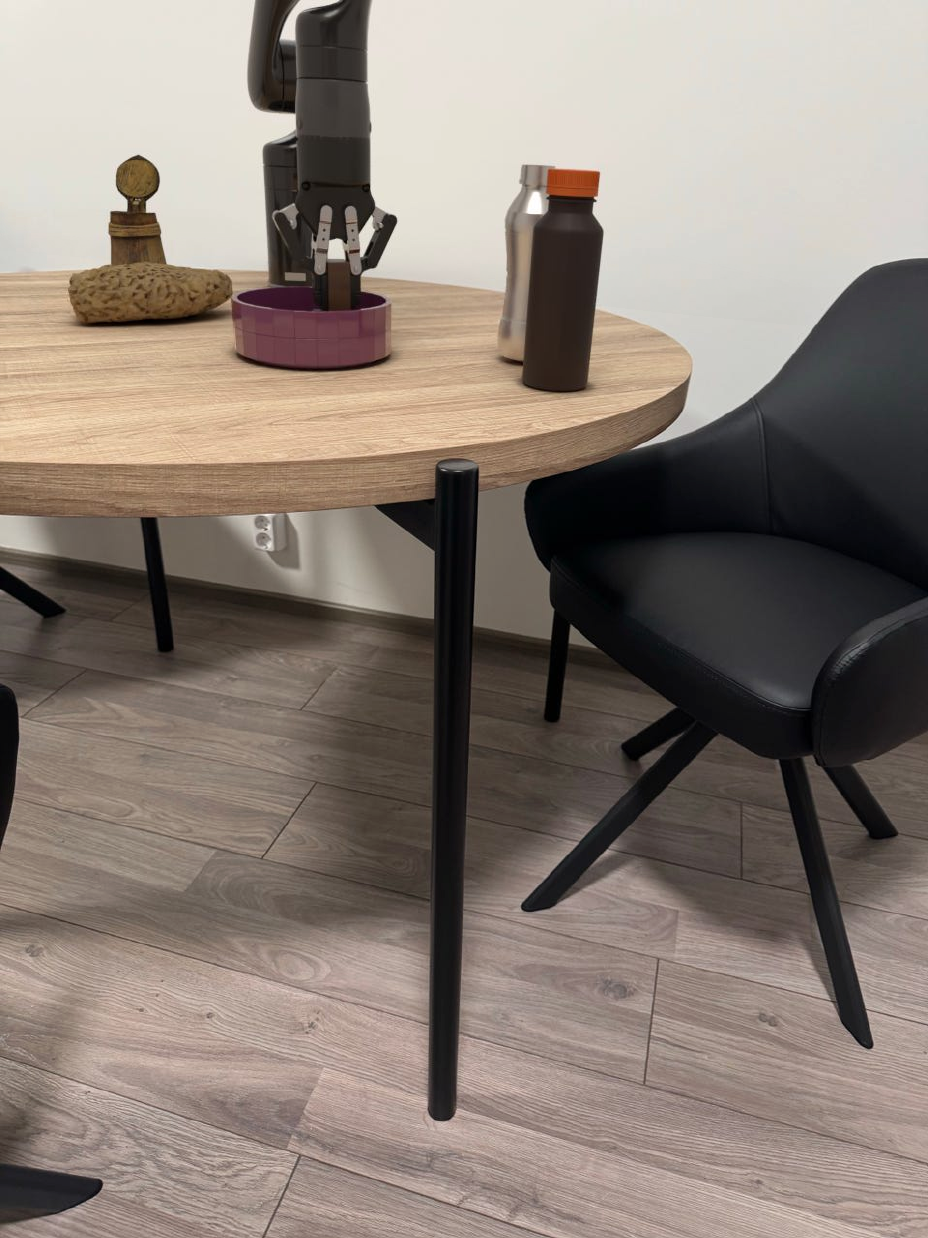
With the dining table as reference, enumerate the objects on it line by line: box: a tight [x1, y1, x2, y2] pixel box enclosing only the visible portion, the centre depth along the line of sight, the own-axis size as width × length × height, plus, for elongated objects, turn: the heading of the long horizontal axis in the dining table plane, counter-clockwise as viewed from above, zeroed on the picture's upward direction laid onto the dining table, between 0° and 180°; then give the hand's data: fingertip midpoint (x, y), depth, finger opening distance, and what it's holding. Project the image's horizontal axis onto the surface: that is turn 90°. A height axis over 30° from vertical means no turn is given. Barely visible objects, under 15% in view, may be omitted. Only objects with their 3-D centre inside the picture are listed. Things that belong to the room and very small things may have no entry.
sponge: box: [67, 262, 234, 324], centre depth 115 cm, size 13×8×20 cm
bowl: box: [230, 286, 393, 370], centre depth 101 cm, size 17×17×6 cm
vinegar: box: [521, 168, 605, 392], centre depth 90 cm, size 7×7×20 cm
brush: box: [312, 258, 351, 311], centre depth 100 cm, size 6×4×9 cm
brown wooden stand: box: [107, 154, 168, 266], centre depth 128 cm, size 9×14×18 cm, turn 8°
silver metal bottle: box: [496, 164, 556, 363], centre depth 99 cm, size 6×7×20 cm
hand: (336, 308), depth 101 cm, fingers closed on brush, 2 cm apart
